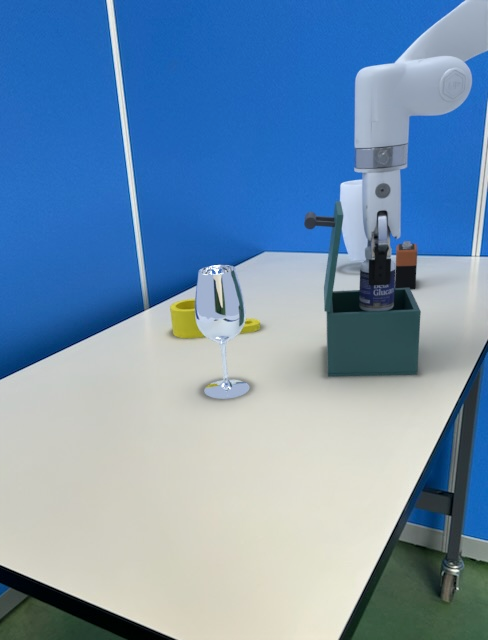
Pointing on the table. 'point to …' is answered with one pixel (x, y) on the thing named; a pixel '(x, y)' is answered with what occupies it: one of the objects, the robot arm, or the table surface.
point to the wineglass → (220, 319)
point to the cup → (353, 219)
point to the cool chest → (372, 336)
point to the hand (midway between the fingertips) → (377, 278)
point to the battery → (406, 265)
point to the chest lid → (336, 225)
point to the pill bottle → (375, 288)
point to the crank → (186, 320)
